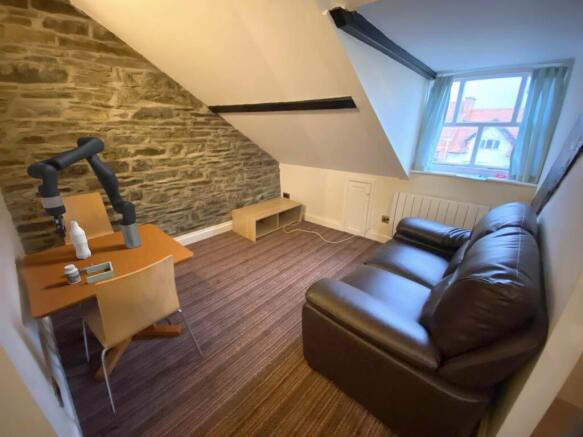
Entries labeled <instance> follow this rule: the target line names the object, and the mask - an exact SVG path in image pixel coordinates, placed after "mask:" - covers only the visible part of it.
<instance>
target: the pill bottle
mask: <svg viewBox="0 0 583 437" xmlns="http://www.w3.org/2000/svg"><path fill="white" fill-rule="evenodd" d="M78 269H79V268H77V267H76V266H75V264H71V263H70V264H68V265H66V266H64V270H65V271H64V276H65V275H66V277H65V278H66V280H67V283H68V284H69V285H75V284H77V283H79V282H81V281H82V278H81V275H80V274H79V272H78Z"/></svg>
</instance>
